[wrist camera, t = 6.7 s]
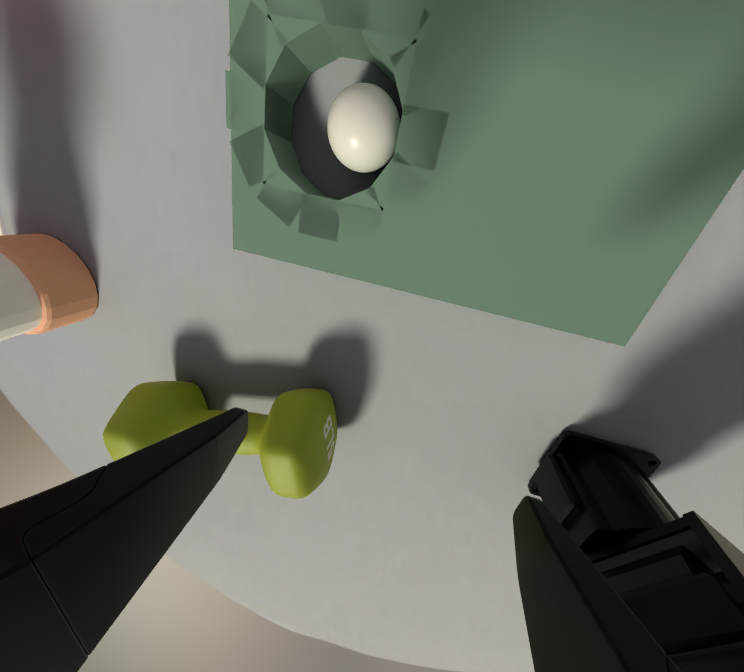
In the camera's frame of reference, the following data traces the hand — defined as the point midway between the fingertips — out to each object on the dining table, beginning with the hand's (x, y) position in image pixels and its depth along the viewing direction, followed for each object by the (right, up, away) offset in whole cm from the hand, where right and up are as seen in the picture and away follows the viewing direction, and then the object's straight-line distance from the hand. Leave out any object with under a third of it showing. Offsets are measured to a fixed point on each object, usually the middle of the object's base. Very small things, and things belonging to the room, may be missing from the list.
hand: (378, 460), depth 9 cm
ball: (-1, +14, +5) cm, 15 cm away
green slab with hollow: (+4, +14, +6) cm, 16 cm away
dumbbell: (-11, -2, +17) cm, 20 cm away
